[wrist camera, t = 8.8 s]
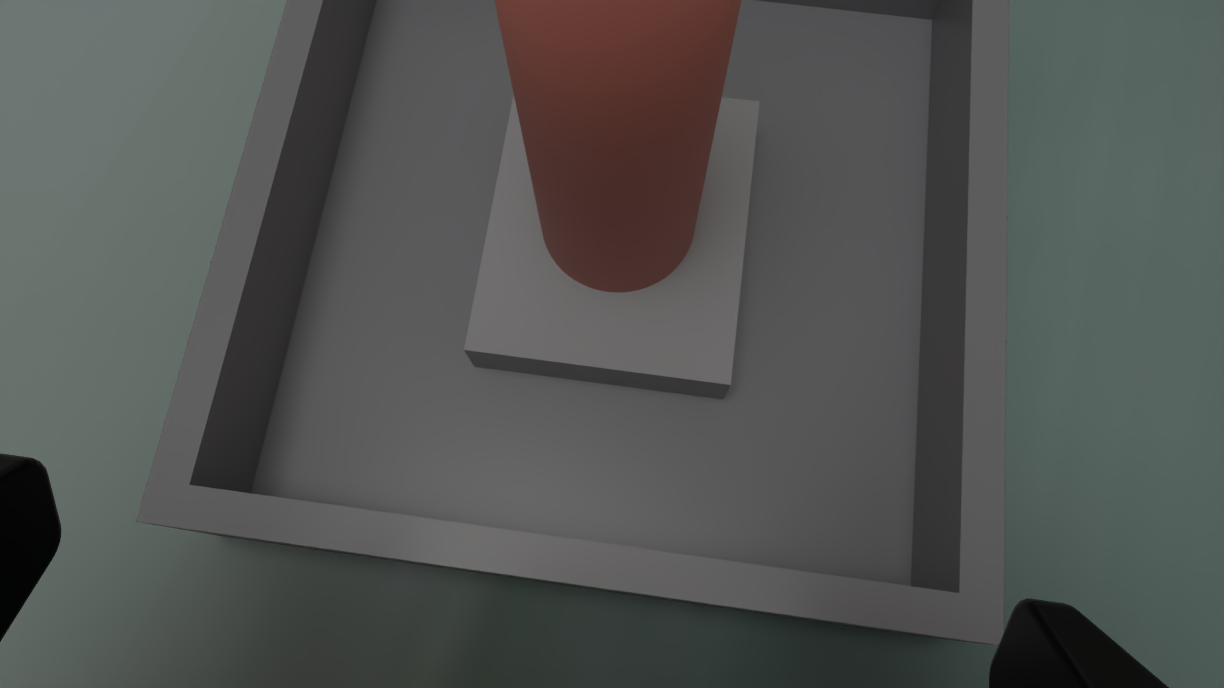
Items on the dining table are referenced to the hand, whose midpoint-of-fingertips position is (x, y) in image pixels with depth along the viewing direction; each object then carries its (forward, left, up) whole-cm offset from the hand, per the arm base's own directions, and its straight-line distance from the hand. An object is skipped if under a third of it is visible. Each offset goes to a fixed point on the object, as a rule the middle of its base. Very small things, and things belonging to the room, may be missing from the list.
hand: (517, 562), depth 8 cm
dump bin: (0, -7, -9) cm, 11 cm away
